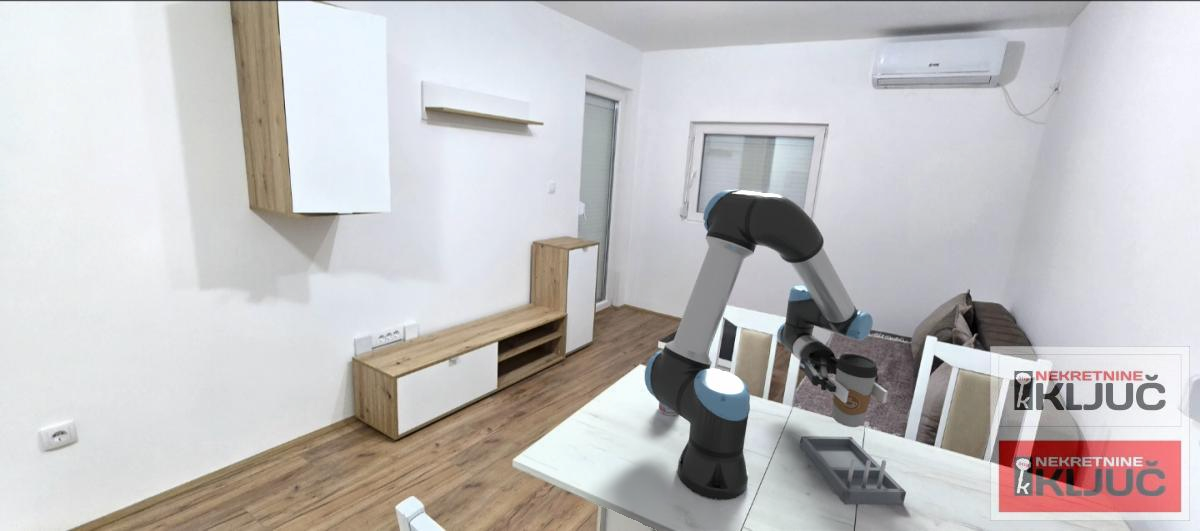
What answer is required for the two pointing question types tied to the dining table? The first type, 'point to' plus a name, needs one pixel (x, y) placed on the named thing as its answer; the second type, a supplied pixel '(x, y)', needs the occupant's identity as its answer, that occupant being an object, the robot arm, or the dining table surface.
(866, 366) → the coffee cup
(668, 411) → the pill bottle
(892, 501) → the dish rack
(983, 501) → the dining table surface
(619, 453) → the dining table surface
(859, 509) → the dining table surface
